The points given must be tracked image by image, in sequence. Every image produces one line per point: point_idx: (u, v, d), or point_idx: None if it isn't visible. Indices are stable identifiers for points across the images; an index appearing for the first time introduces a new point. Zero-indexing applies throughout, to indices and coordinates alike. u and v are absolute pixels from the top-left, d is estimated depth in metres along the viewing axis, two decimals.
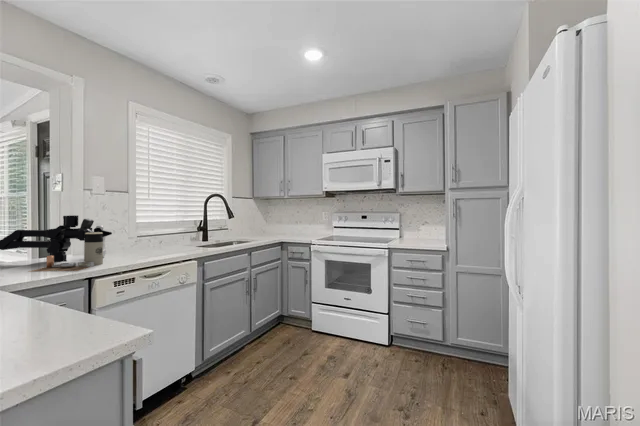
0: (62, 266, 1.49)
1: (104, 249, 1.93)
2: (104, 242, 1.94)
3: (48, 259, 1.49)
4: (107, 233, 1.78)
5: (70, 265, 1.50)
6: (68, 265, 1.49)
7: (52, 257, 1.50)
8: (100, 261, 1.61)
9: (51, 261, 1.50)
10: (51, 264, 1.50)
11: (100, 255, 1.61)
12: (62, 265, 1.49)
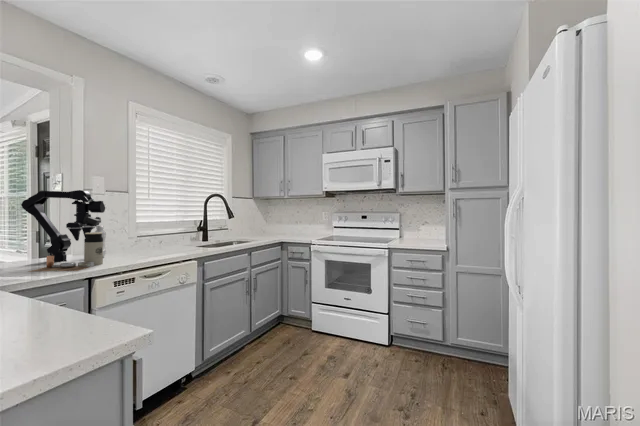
0: (62, 266, 1.49)
1: (104, 249, 1.93)
2: (104, 242, 1.94)
3: (48, 259, 1.49)
4: None
5: (70, 265, 1.50)
6: (68, 265, 1.49)
7: (52, 257, 1.50)
8: (100, 261, 1.61)
9: (51, 261, 1.50)
10: (51, 264, 1.50)
11: (100, 255, 1.61)
12: (62, 265, 1.49)
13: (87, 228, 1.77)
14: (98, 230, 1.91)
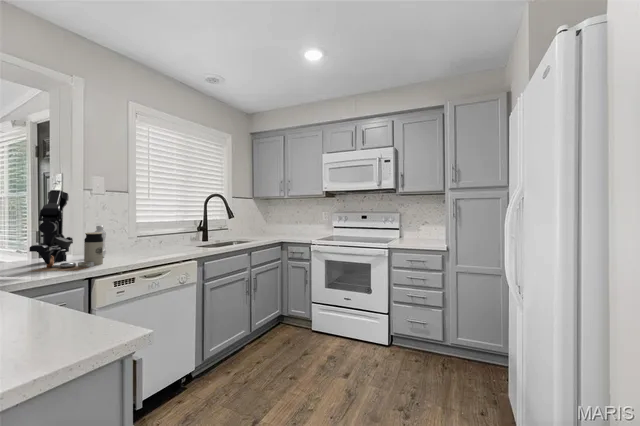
0: (62, 266, 1.49)
1: (104, 249, 1.93)
2: (104, 242, 1.94)
3: None
4: None
5: (70, 265, 1.50)
6: (68, 265, 1.49)
7: (52, 257, 1.50)
8: (100, 261, 1.61)
9: (51, 261, 1.50)
10: (51, 264, 1.50)
11: (100, 255, 1.61)
12: (62, 265, 1.49)
13: (53, 250, 1.52)
14: (98, 230, 1.91)
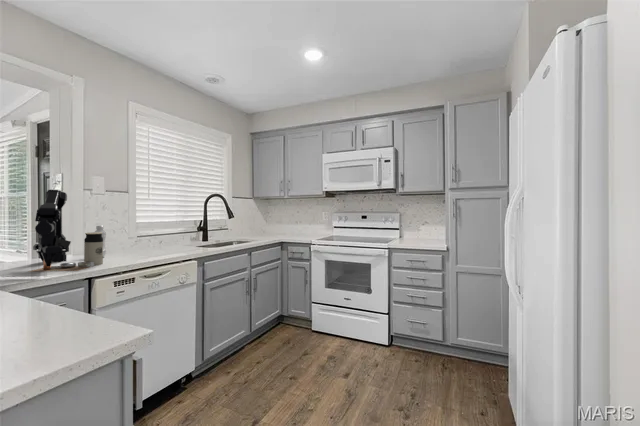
0: (68, 266, 1.49)
1: (104, 249, 1.93)
2: (104, 242, 1.94)
3: None
4: None
5: (75, 264, 1.52)
6: (74, 264, 1.51)
7: None
8: (100, 261, 1.61)
9: None
10: (50, 266, 1.45)
11: (100, 255, 1.61)
12: (68, 265, 1.49)
13: None
14: (98, 230, 1.91)
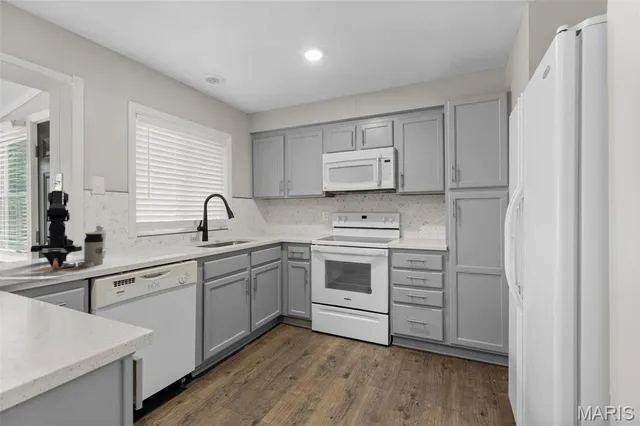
0: (73, 265, 1.51)
1: (104, 249, 1.93)
2: (104, 242, 1.94)
3: None
4: None
5: None
6: (75, 264, 1.53)
7: None
8: (100, 261, 1.61)
9: None
10: None
11: (100, 255, 1.61)
12: (73, 264, 1.51)
13: (51, 253, 1.43)
14: (98, 230, 1.91)
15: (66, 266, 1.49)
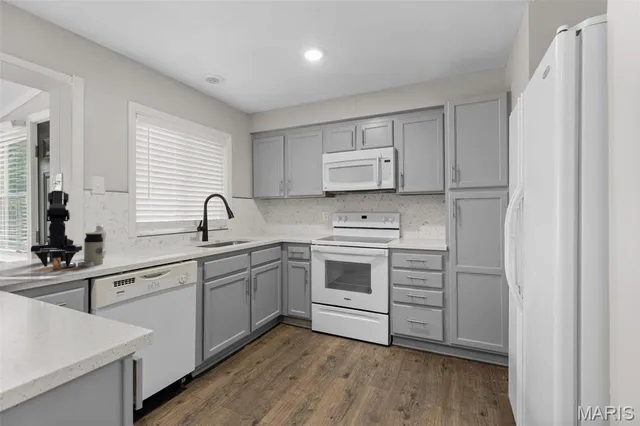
0: (73, 265, 1.51)
1: (104, 249, 1.93)
2: (104, 242, 1.94)
3: (59, 261, 1.44)
4: (45, 261, 1.43)
5: None
6: (75, 264, 1.54)
7: None
8: (100, 261, 1.61)
9: None
10: None
11: (100, 255, 1.61)
12: (73, 264, 1.51)
13: (44, 252, 1.43)
14: (98, 230, 1.91)
15: (66, 266, 1.49)
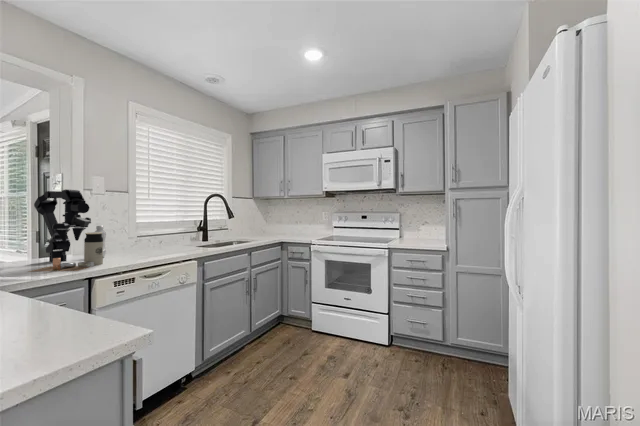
0: (73, 265, 1.51)
1: (104, 249, 1.93)
2: (104, 242, 1.94)
3: (59, 261, 1.44)
4: (76, 236, 1.70)
5: None
6: (75, 264, 1.54)
7: None
8: (100, 261, 1.61)
9: None
10: None
11: (100, 255, 1.61)
12: (73, 264, 1.51)
13: (77, 228, 1.70)
14: (98, 230, 1.91)
15: (66, 266, 1.49)
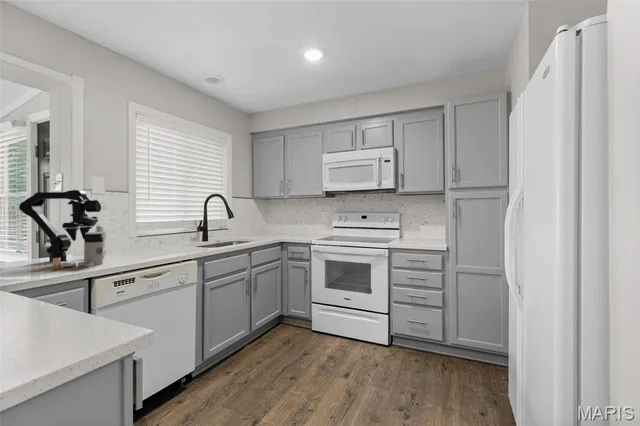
0: (73, 265, 1.51)
1: (104, 249, 1.93)
2: (104, 242, 1.94)
3: (59, 261, 1.44)
4: (84, 235, 1.76)
5: None
6: (75, 264, 1.54)
7: None
8: (100, 261, 1.61)
9: None
10: None
11: (100, 255, 1.61)
12: (73, 264, 1.51)
13: (84, 228, 1.76)
14: (98, 230, 1.91)
15: (66, 266, 1.49)
